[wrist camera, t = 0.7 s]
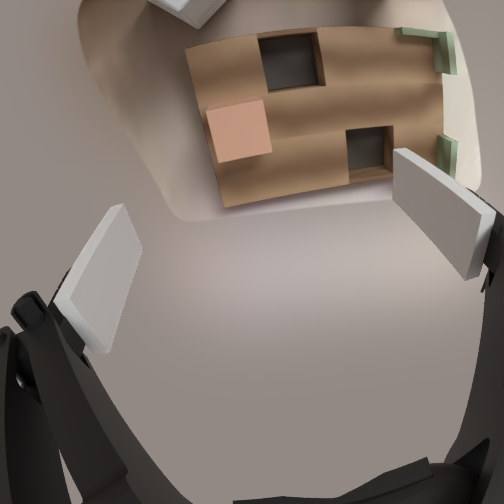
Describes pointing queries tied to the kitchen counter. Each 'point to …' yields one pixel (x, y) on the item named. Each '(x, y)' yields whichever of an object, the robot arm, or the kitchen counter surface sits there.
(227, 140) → the block
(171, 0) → the supplement box
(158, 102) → the kitchen counter surface
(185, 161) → the kitchen counter surface
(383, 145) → the tray
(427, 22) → the kitchen counter surface
